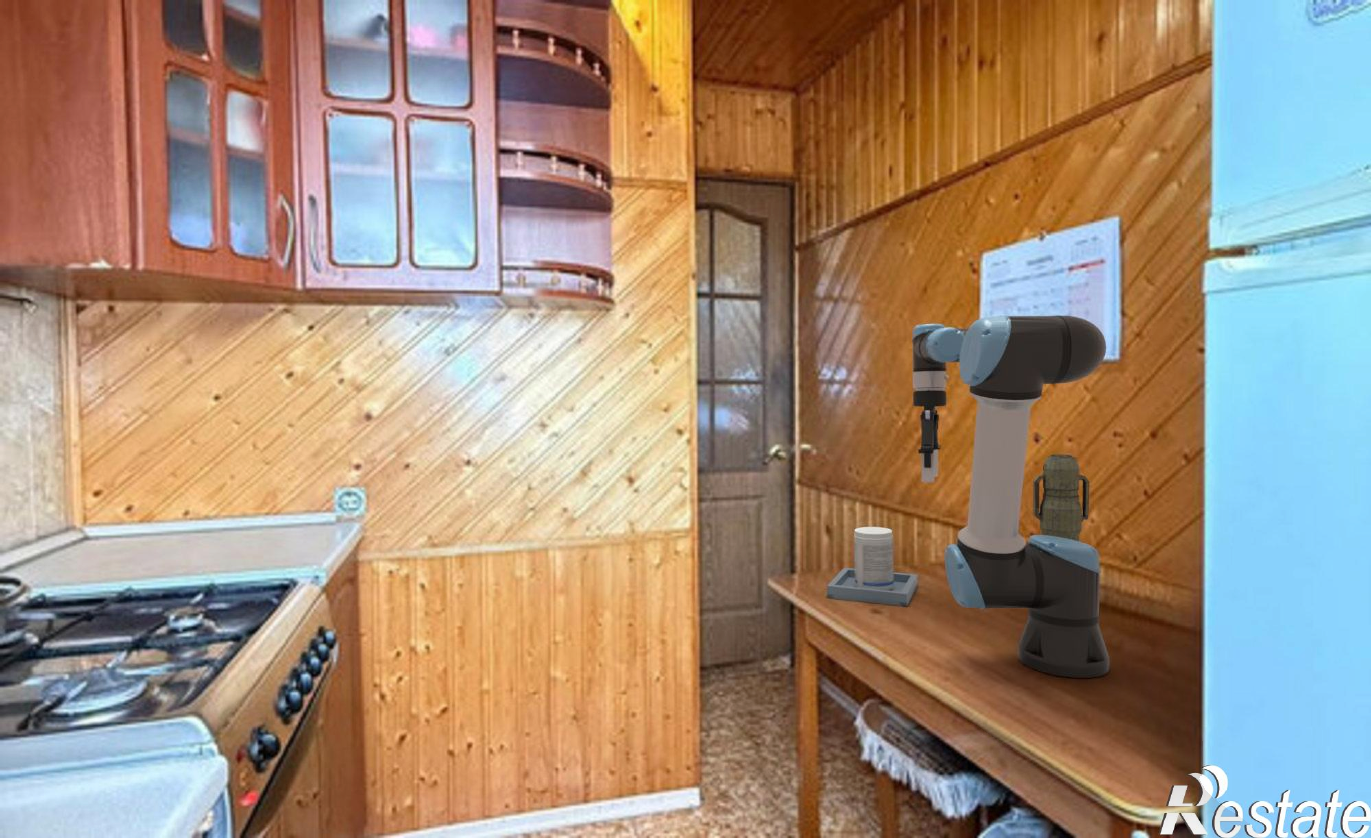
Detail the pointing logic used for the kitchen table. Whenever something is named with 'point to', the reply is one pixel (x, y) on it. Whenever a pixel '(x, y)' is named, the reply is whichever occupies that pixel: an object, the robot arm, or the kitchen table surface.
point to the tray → (897, 595)
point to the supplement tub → (873, 558)
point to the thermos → (1061, 498)
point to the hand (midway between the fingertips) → (930, 479)
